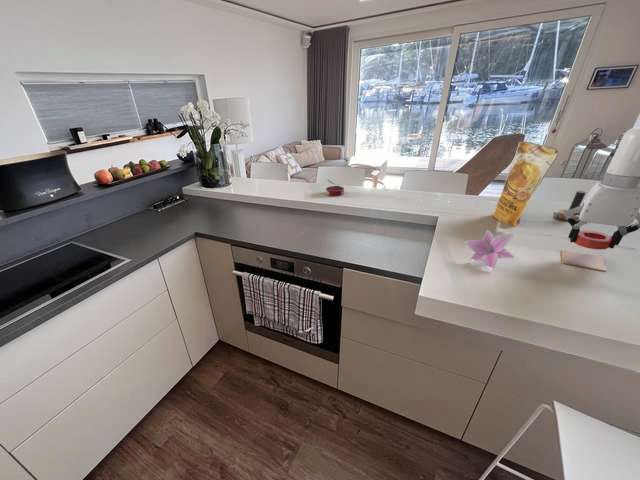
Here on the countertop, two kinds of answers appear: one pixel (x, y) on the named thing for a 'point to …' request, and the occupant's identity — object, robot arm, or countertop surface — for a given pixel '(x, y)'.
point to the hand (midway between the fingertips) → (590, 243)
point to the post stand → (573, 203)
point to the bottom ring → (561, 216)
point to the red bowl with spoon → (334, 190)
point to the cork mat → (583, 260)
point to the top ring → (593, 240)
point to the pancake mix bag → (523, 180)
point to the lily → (490, 248)
